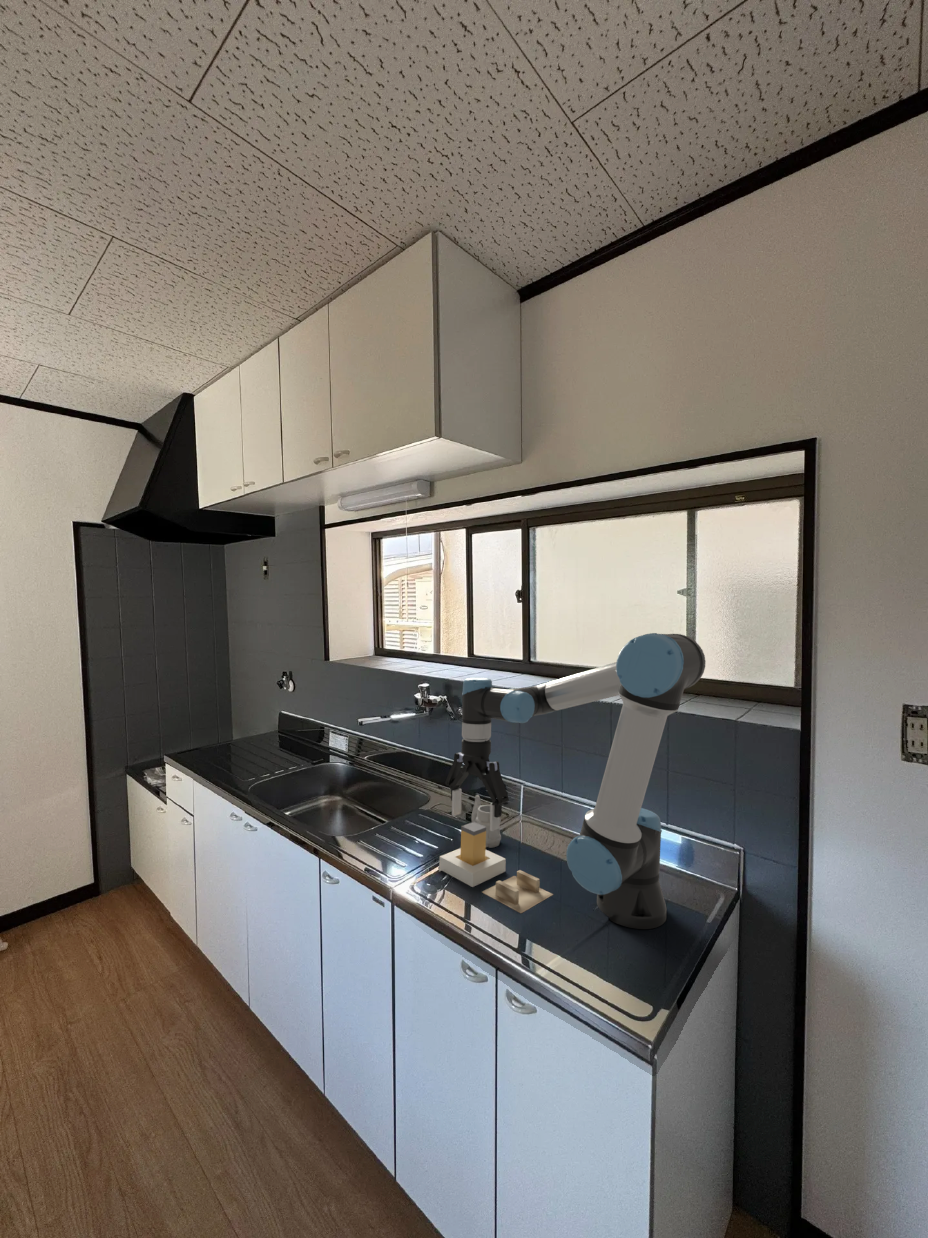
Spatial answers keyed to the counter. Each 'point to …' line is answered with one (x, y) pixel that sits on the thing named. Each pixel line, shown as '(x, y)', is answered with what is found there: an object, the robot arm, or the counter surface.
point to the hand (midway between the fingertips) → (474, 821)
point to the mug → (485, 822)
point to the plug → (473, 843)
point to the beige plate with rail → (518, 892)
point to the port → (472, 867)
